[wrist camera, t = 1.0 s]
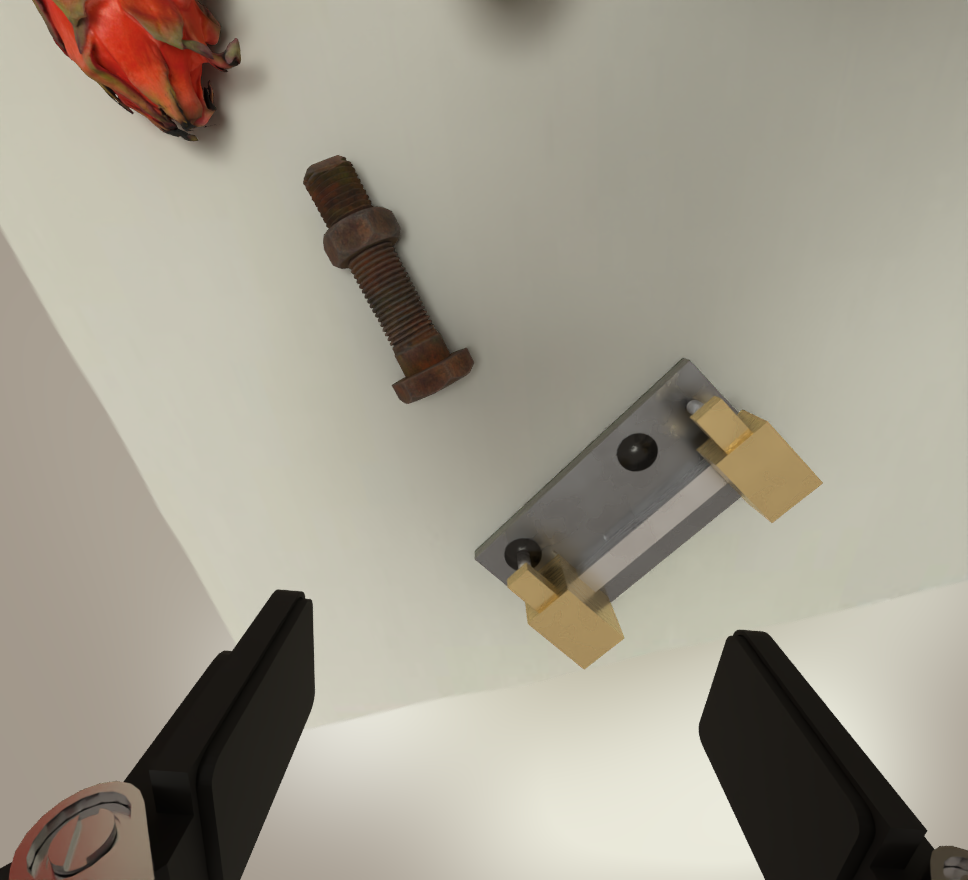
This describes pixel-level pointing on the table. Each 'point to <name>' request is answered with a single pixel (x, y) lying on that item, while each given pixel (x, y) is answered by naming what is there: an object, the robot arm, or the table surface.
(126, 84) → the dragon fruit
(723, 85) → the table surface
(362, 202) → the bolt
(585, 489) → the hole plate
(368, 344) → the table surface
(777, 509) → the block
